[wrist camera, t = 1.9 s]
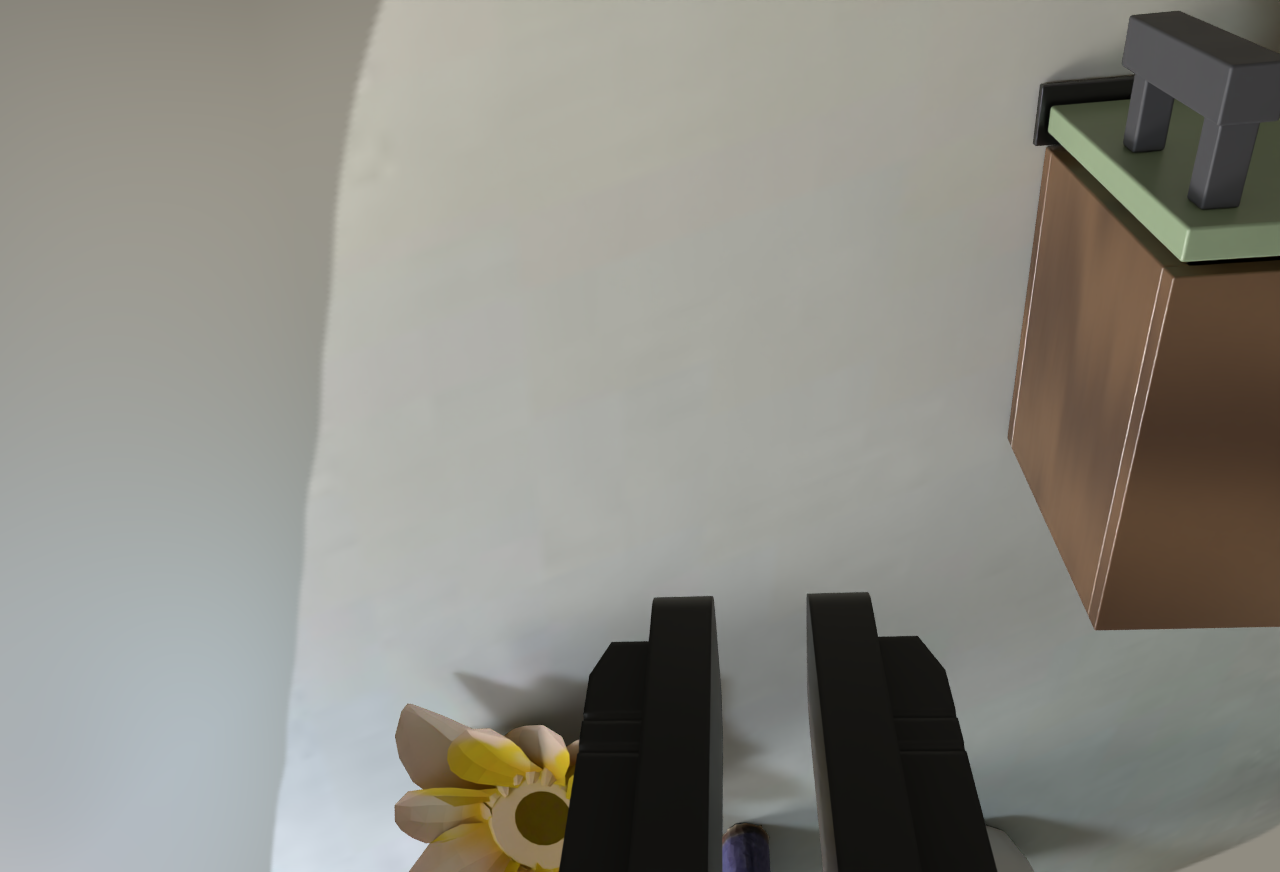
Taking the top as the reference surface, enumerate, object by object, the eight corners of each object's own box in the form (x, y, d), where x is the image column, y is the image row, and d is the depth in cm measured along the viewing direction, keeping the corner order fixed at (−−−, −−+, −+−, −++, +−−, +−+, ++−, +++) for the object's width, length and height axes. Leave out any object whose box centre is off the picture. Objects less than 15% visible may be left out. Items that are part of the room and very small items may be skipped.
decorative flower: (732, 707, 42) (707, 951, 35) (709, 804, 50) (685, 1017, 43) (408, 653, 43) (323, 879, 36) (438, 757, 51) (374, 956, 45)
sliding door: (1065, -8, 26) (1223, 74, 18) (1358, -37, 25) (1667, 35, 17) (1046, 132, 28) (1180, 263, 20) (1316, 110, 27) (1573, 238, 19)
